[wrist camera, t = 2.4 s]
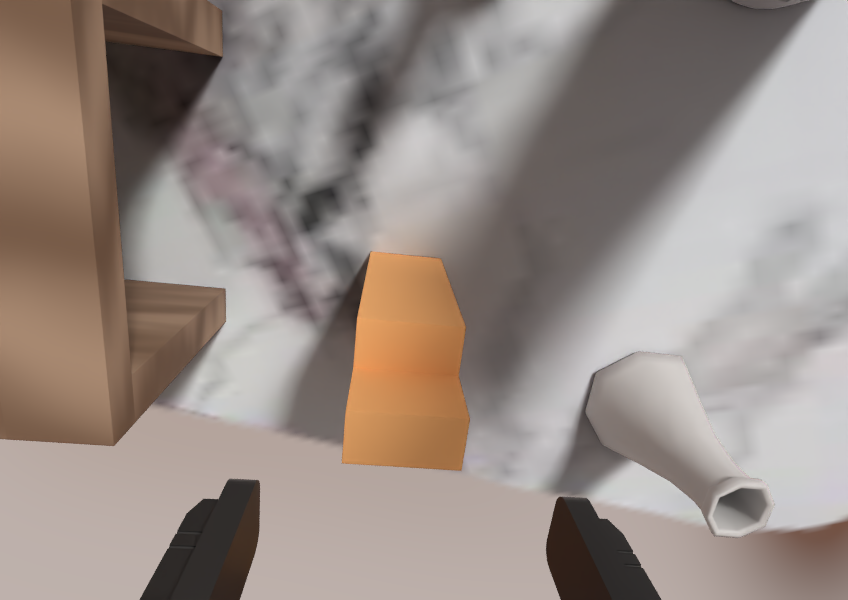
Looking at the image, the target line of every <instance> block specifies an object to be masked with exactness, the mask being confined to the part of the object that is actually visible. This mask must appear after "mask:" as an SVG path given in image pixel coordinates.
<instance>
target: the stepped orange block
mask: <svg viewBox="0 0 848 600" xmlns="http://www.w3.org/2000/svg"><path fill="white" fill-rule="evenodd" d="M465 331H466V326H465V323H464V320H463V318H462V315H461V312H460V309H459V307H458V304H457V301H456V299H455V296H454V293H453V290H452V288H451V285H450V282H449V279H448V277H447V274H446V271H445V268H444V266H443V263H442V260H441V259H440V258H431V257H421V256H411V255H401V254H391V253H381V252H371V253H370V258H369V263H368V267H367V272H366V277H365V282H364V287H363V292H362V297H361V302H360V307H359V312H358V317H357V327H356V340H355V353H354V365H353V372H352V378H351V384H350V389H349V395H348V400H347V406H346V414H345V427H344V440H343V453H342V463H346V464H361V465H362V464H363V465H379V466H395V467H410V468H426V469H443V470H459V471H461V470H462V464H463V458H464V452H465V446H466V440H467V434H468V428H469V422H470V417H469V414H468V410H467V406H466V402H465V398H464V395H463V391H462V387H461V383H460V379H459V370H460V364H461V357H462V351H463V344H464V338H465Z"/></svg>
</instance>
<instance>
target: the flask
mask: <svg viewBox="0 0 848 600" xmlns="http://www.w3.org/2000/svg"><path fill="white" fill-rule="evenodd" d="M585 413H586V415H587V417H588V419H589V421H590V423H591V425H592V427H593V428H594V430H595V432H596V434H597V436H598V438H599V440H600V442H601V444H602V445H604V446H606V447H607V448H609V449H611V450H613V451H615V452H617V453H619V454H621V455H623V456H625V457H627V458H629V459H631V460H633V461H635V462H637V463H638V464H640V465H642V466H644V467H646V468H647V469H649V470H651V471H653V472H654V473H656V474H658V475H660V476H661V477H663V478H665V479H667V480H668V481H670V482H671V483H673V484H674V485H675V486H676V487H677V488H679V489H680V490H681V491H682V492H683V493H685V494H686V495H687V496H688V497H689V498H691V499H692V500H693V501H694V502H695V503H696V504H697V506H698V507H699V508H700V509H701V511H702V513H703V516H704V518H705V520H706V522H707V525H708V527H709V529H710V531H711V533H712V534H713V535H714V536H719V537H732V538H741V537H743V536H745V535H747V534H750V533H752V532H754V531H756V530H759V529H761V528H763V527H765V526H766V524H767V521H768V519H769V517H770V515H771V512H772V510H773V508H774V506H775V503H774V501H773V498H772V496H771V493H770V490H769V488H768V485H767V484H766V483H765V482H764V481H762V480H760V479H755V478H750V477H749V476H748V475H747V474H746V473H745V472H744V471H743V470H742V469H741V468H740V467H739V466H738V465H737V464H736V463H735V462H734V461H733V460H732V458H731V457H730V455H729V454H728V452H727V451H726V450H725V448H724V447H723V445H722V444H721V442H720V441H719V439H718V438H717V436H716V435H715V433H714V430H713V428H712V426H711V424H710V422H709V419H708V417H707V415H706V413H705V410H704V408H703V406H702V404H701V401H700V399H699V396H698V394H697V391H696V389H695V387H694V384H693V382H692V379H691V377H690V374H689V372H688V370H687V367H686V365H685V363H684V360H683V358H682V356H678V355H669V354H659V353H650V352H641V351H638V352H636V353H634V354H632V355H630V356H628V357H626V358H624V359H622V360H620V361H618V362H616V363H614V364H612V365H610V366H608V367H606V368H604V369H602V370H600V371H598V372H596V374H595V378H594V382H593V385H592V389H591V393H590V396H589V400H588V403H587V407H586V411H585Z"/></svg>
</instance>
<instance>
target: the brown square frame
mask: <svg viewBox="0 0 848 600" xmlns="http://www.w3.org/2000/svg"><path fill="white" fill-rule="evenodd" d="M105 41H106V42H114V43H122V44H129V45H137V46H144V47H152V48H159V49H167V50H174V51H182V52H189V53H197V54H205V55H212V56H220V57H223V43H222V11H221V10H220V9H219V8H217V7H216V6H214V5H213V4H211V3H210V2H209V1H207V0H0V439H10V440H26V441H42V442H58V443H74V444H90V445H106V446H114V445H115V444H116V443H117V442H118V441H119V440H120V439H121V438H122V436H123V435H124V434H125V433H126V432H127V431H128V430H129V429H130V428H131V426H132V425H133V424H134V423H135V422H136V421H137V420H138V419H139V418H140V416H141V415H142V414H143V413H144V412H145V411H146V410H147V409H148V408H149V406H150V405H151V404H152V403H153V402H154V401H155V400H156V399H157V398H158V396H159V395H160V394H161V393H162V392H163V391H164V390H165V389H166V388H167V386H168V385H169V384H170V383H171V382H172V381H173V380H174V379H175V378H176V376H177V375H178V374H179V373H180V372H181V371H182V370H183V369H184V367H185V366H186V365H187V364H188V363H189V362H190V361H191V360H192V359H193V357H194V356H195V355H196V354H197V353H198V352H199V351H200V350H201V349H202V347H203V346H204V345H205V344H206V343H207V342H208V341H209V340H210V339H211V337H212V336H213V335H214V334H215V333H216V332H217V331H218V330H219V329H220V327H221V326H222V325H223V324H224V323H225V322H226V291H225V289H223V288H212V287H201V286H190V285H179V284H168V283H157V282H146V281H135V280H124V273H123V260H122V248H121V235H120V223H119V210H118V198H117V185H116V173H115V160H114V148H113V135H112V123H111V110H110V98H109V85H108V73H107V60H106V48H105Z"/></svg>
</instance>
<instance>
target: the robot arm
mask: <svg viewBox="0 0 848 600" xmlns="http://www.w3.org/2000/svg"><path fill="white" fill-rule="evenodd" d="M732 1H733V2H735V3H737V4H740V5H743V6H747V7H750V8H753V9H776V8H780V7H785V6H790V5H793V4H797V3H800V2H803V1H808V0H732ZM259 509H260V483H259V481H258V480H244V479H229V480H228V481H227V483H226V485H225V487H224V489H223V491H222V494H221V496H220V497H219V499H203V500H202V501H201V502H200V503H198V504H197V505H196V506H195V507H194V508H193V509H191V510H190V511H189V512H188V513H187V514H186V516H185V518H184V520H183V522H182V523H181V525H180V527H179V529H178V532H177V534H176V535H175V536H174V538H173V540H172V542H171V543H170V547H169V549H167V551H166V553H165V554H164V556H163V558H162V560H161V562H160V564H159V566H158V567H157V569H156V571H155V573H154V575H153V577H152V578H151V580H150V582H149V584H148V585H147V587H146V589H145V591H144V593H143V595H142V597H141V598H140V600H240V597H241V594H242V591H243V588H244V585H245V582H246V579H247V576H248V573H249V570H250V567H251V564H252V561H253V558H254V555H255V551H256V547H257V542H258V536H259V515H260V511H259ZM546 554H547V562H548V565H549V569H550V571H551V574H552V577H553V580H554V582H555V585H556V588H557V591H558V593H559V596H560V599H561V600H661V598H660V597H659V595H658V593H657V591H656V590H655V588H654V586H653V585H652V583H651V581H650V579H649V578H648V576H647V574H646V573H645V571H644V569H643V568H641V564H640V562H639V560H638V559H637V557H636V555H635V554H633V550H632V549H631V547H630V545H629V543H628V542H627V540H626V538H625V537H624V535H623V534H622V533H621V532H620V531H619V530H618V529H617V528H616V527H615V526H614V525H613V524H612V523H611V522H610V521H609V520H608V519H599V518H598V516H597V514H596V512H595V510H594V508H593V506H592V505H591V503H590V501H589V500H588V499H587V498H575V497H559V498H558V499H557V501H556V504H555V508H554V512H553V517H552V521H551V525H550V529H549V534H548V538H547V544H546Z"/></svg>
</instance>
